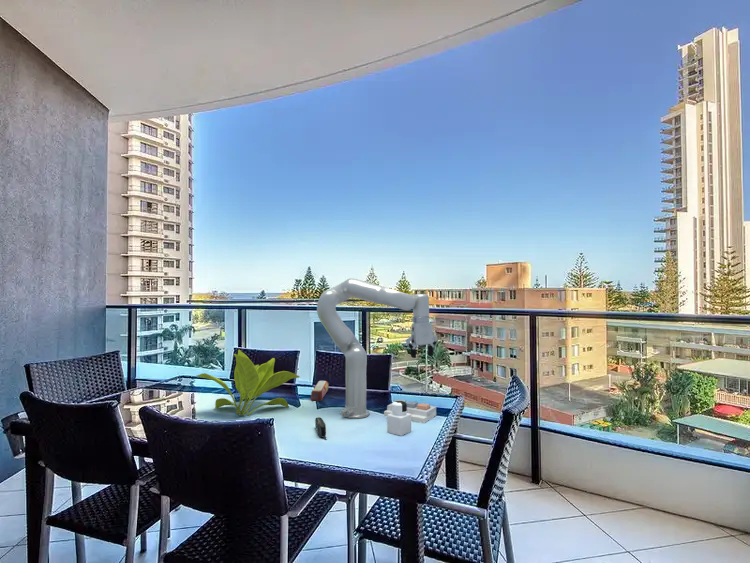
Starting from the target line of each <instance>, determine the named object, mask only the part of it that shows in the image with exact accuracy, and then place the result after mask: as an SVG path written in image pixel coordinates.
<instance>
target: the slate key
mask: <svg viewBox="0 0 750 563" xmlns="http://www.w3.org/2000/svg"><path fill="white" fill-rule="evenodd" d="M406 402H407V407H409V408H416V407H417V405H418V404H419V402H417V401H411V400H409V401H406Z"/></svg>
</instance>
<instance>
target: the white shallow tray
mask: <svg viewBox="0 0 750 563" xmlns="http://www.w3.org/2000/svg"><path fill="white" fill-rule="evenodd" d="M407 402H408V401H406V403H407ZM390 413H392V403H390V404H388V405H386V410H384V411H383V417H387V415H388V414H390ZM407 413H409V414H411V422H415V423H419V422H421V423H420V424H425V422H426V423H427V422H428V420H429V421H430V420H432V419H433V418H435V417H436V416H437V406H434V405H430V409H428V410H421V409H417V407H416V408H409V407H407ZM434 416H435V417H434Z"/></svg>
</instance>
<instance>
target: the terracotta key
mask: <svg viewBox="0 0 750 563" xmlns="http://www.w3.org/2000/svg"><path fill="white" fill-rule="evenodd" d="M430 406H431V404H430V403H423V402H420V403H418V405H417V409H421V410H428V409H430Z"/></svg>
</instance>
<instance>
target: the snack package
mask: <svg viewBox="0 0 750 563" xmlns="http://www.w3.org/2000/svg"><path fill="white" fill-rule="evenodd" d="M329 385H330V384H329V382H328V381H327V380H319V381H317V383H316V384H315V386H314V388H313V389H312V390H311V392H310V395H311V396H310V399H311V402H313V401H320V402H322V401H323V399H324V397H325V396H326V393H327V392H328V391H329V387H330V386H329Z"/></svg>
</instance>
